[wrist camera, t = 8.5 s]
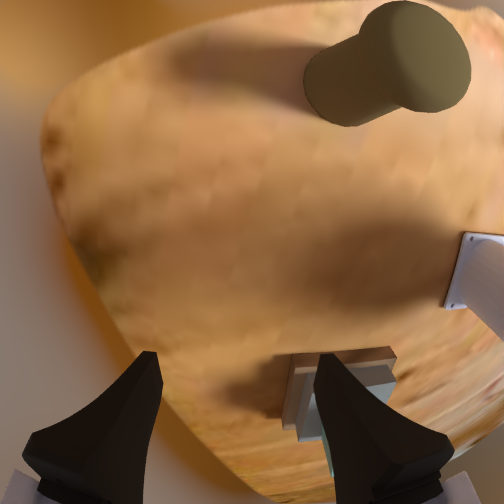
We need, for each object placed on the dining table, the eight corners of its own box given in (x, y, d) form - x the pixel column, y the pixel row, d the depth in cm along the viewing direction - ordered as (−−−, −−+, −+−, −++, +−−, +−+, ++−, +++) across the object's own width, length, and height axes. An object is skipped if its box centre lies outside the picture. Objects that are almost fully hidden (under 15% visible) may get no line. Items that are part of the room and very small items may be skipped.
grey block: (387, 364, 24) (396, 381, 22) (364, 414, 27) (371, 431, 24) (306, 372, 23) (312, 393, 21) (295, 423, 26) (298, 442, 24)
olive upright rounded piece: (352, 144, 19) (454, 155, 8) (285, 88, 17) (336, 31, 7) (396, 88, 17) (504, 68, 7) (335, 33, 15) (411, -38, 5)
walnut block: (387, 342, 26) (397, 357, 24) (362, 404, 30) (368, 420, 27) (291, 349, 25) (295, 367, 23) (280, 413, 29) (282, 430, 27)
